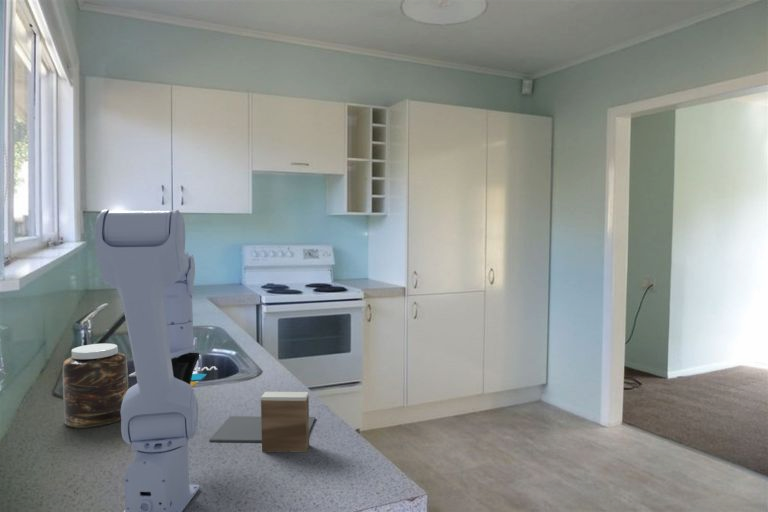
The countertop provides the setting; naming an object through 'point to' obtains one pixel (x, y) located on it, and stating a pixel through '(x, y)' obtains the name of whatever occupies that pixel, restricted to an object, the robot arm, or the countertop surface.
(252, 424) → the mat
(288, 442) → the wooden block
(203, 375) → the logo
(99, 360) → the jar
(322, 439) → the countertop surface
